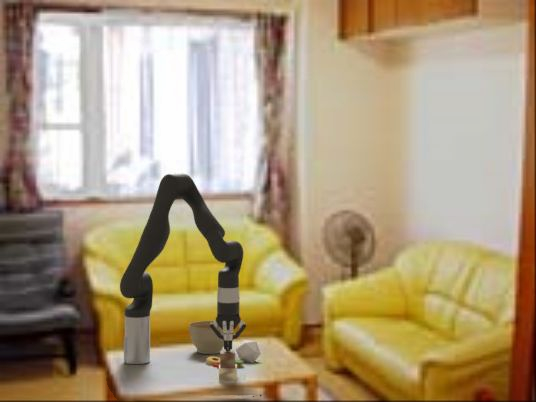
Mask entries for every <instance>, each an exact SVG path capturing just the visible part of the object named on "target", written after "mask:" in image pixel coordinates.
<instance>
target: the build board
mask: <svg viewBox="0 0 536 402" xmlns="http://www.w3.org/2000/svg"><path fill="white" fill-rule="evenodd" d="M246 376H247V374H246V373H237V380H219V373H210V378H209V384H222V383H223V384H246V383H247V382H246V381H247V379H246V378H247V377H246Z"/></svg>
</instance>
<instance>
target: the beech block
mask: <svg viewBox="0 0 536 402" xmlns="http://www.w3.org/2000/svg"><path fill="white" fill-rule="evenodd" d="M218 374H219V380H237V374H238V368H237V364H235V368H220V364H219V369H218Z"/></svg>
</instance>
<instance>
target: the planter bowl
mask: <svg viewBox="0 0 536 402" xmlns="http://www.w3.org/2000/svg"><path fill="white" fill-rule="evenodd" d="M214 321H215V320H203V321H202V320H200V321H194V322H189V324H188V328H189V329H188V330H189V336H190V340H191V342H192V344H193V346H194V347H195V348H196V351H197V353H199V354H204V355H215V354H219V353H218V352H220V351H221V350H223V349H224V340H223V339H220V338H219V337H218V336H217V335H216V334H215V332H214V331H213V330H212V329H211V327H210V323H213V322H214ZM217 329H218V330H219V331H220V333H221V334H222V335H224V334H223V330H222V329H221V328H220V326H219V325H218V324H217ZM227 337H228V338H229V330H227Z"/></svg>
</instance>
